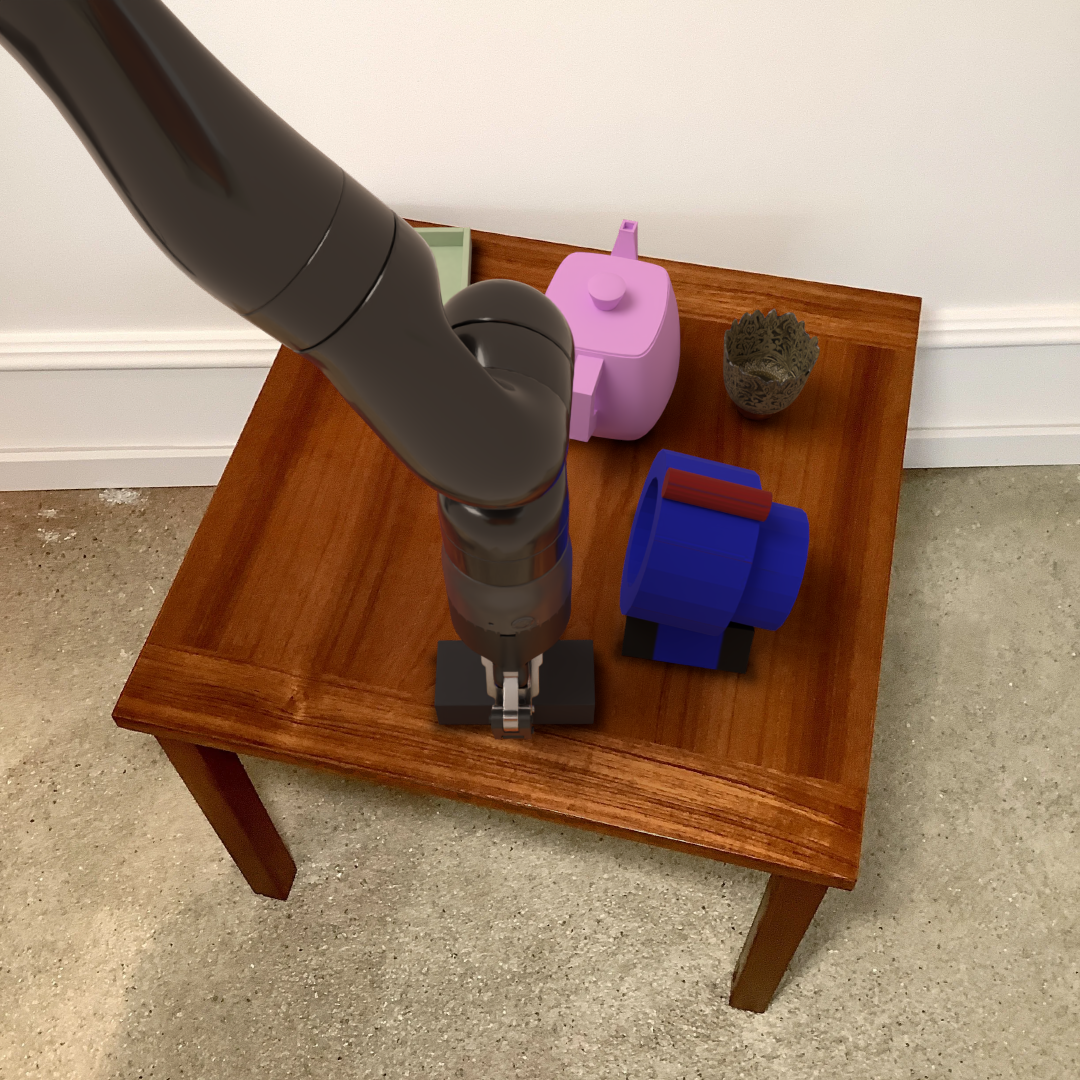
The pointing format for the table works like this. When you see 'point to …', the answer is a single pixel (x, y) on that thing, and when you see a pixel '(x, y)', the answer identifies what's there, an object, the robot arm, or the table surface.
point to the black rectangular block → (558, 700)
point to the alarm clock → (708, 564)
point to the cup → (767, 362)
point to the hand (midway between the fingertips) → (516, 690)
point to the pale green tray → (450, 257)
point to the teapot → (618, 338)
